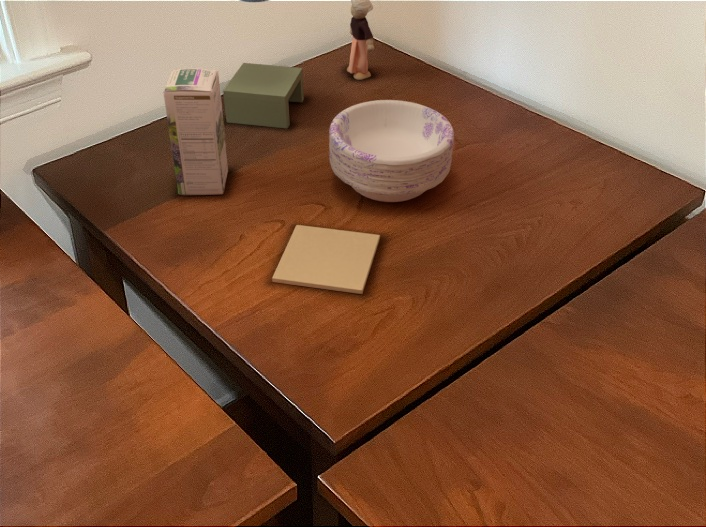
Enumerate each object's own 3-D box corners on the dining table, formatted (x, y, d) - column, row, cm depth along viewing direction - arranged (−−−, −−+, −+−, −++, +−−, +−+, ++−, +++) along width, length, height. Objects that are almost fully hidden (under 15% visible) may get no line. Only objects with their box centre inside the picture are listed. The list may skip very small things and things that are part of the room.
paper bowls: (475, 187, 103) (481, 132, 98) (381, 232, 96) (381, 174, 91) (397, 139, 112) (399, 86, 107) (306, 176, 105) (303, 121, 100)
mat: (272, 282, 89) (271, 278, 88) (296, 228, 96) (296, 224, 96) (362, 294, 87) (362, 290, 87) (380, 238, 95) (380, 234, 94)
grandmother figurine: (336, 68, 129) (334, -11, 121) (356, 62, 131) (355, -16, 123) (364, 87, 124) (364, 5, 116) (384, 80, 126) (385, -1, 118)
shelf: (226, 122, 116) (222, 90, 113) (246, 93, 123) (243, 62, 120) (287, 128, 115) (285, 96, 112) (304, 99, 122) (302, 67, 119)
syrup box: (185, 171, 106) (168, 67, 97) (230, 170, 106) (218, 67, 97) (178, 196, 102) (160, 90, 93) (225, 195, 102) (212, 89, 93)
